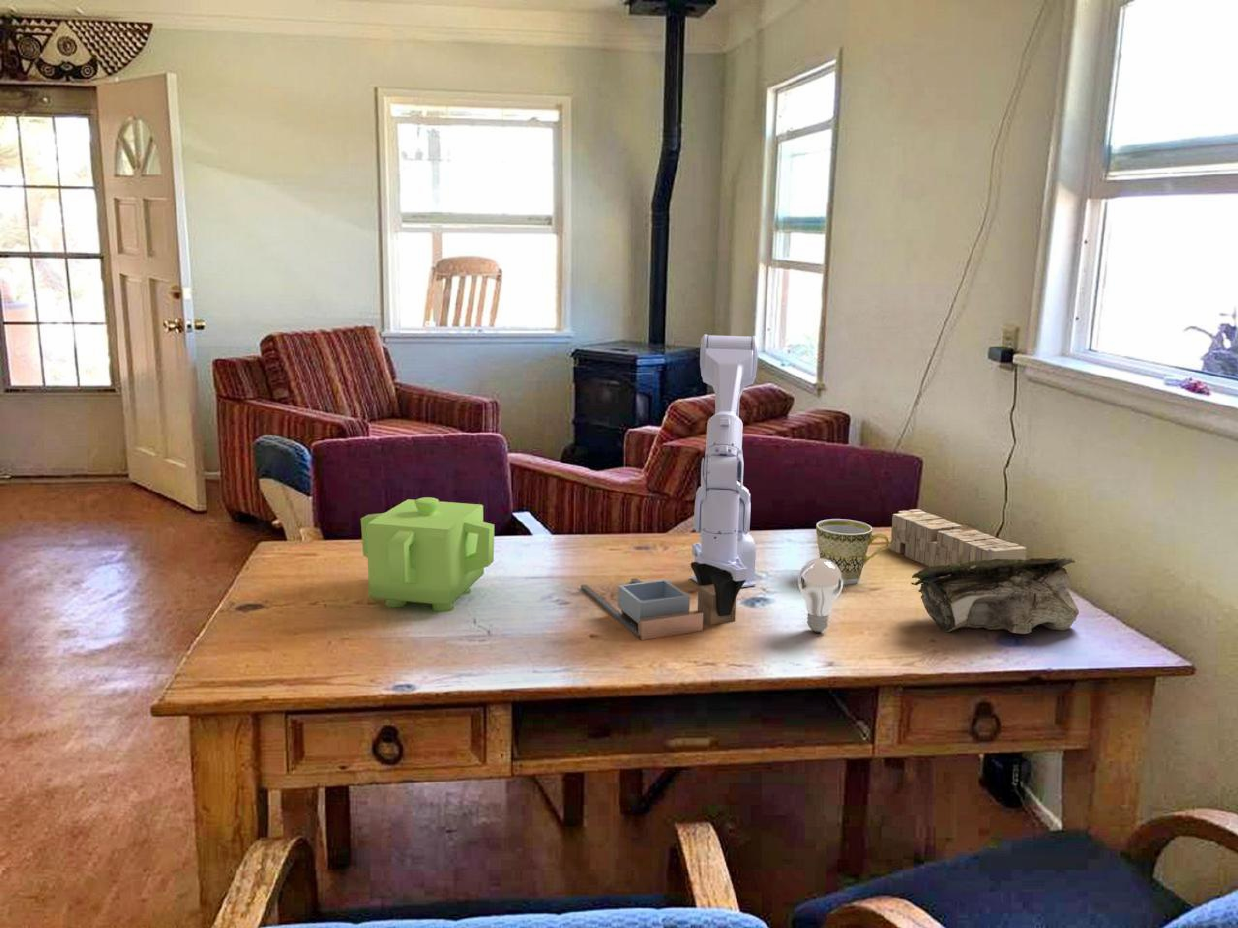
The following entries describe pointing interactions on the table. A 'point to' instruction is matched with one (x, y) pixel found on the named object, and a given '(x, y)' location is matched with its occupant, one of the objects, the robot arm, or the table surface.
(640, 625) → the rails
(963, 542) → the block tower
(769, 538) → the table surface
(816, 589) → the light bulb
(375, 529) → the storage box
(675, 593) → the grey open tray bin
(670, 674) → the table surface
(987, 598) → the driftwood chunk
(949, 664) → the table surface
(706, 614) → the walnut block
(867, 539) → the ceramic cup
